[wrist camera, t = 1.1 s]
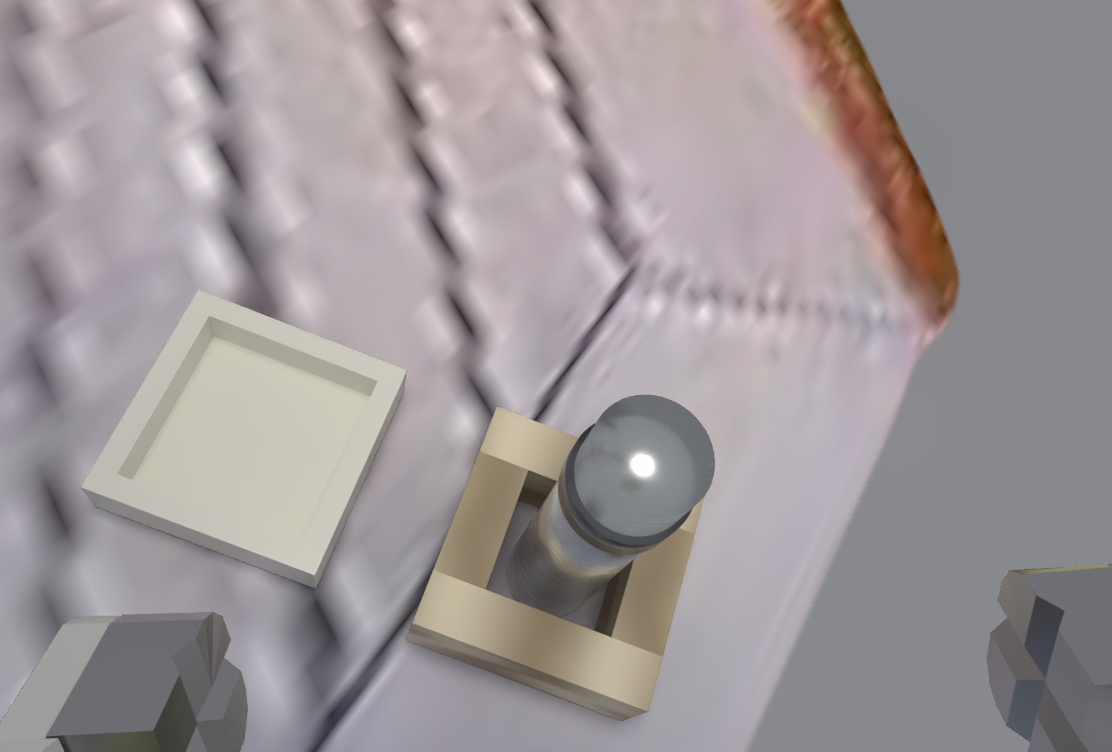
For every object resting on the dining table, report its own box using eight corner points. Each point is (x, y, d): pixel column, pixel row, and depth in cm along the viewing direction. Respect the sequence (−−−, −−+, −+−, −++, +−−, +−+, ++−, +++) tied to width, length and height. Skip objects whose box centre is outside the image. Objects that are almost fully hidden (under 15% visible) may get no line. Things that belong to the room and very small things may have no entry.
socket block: (405, 640, 41) (412, 622, 38) (484, 438, 46) (497, 406, 42) (621, 720, 42) (648, 711, 38) (678, 513, 46) (706, 487, 43)
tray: (95, 505, 41) (80, 487, 39) (205, 316, 45) (198, 289, 43) (315, 589, 41) (314, 575, 39) (403, 393, 46) (407, 370, 44)
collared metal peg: (493, 534, 44) (569, 398, 30) (584, 519, 45) (698, 380, 31) (512, 630, 42) (603, 535, 28) (606, 612, 44) (738, 511, 29)
